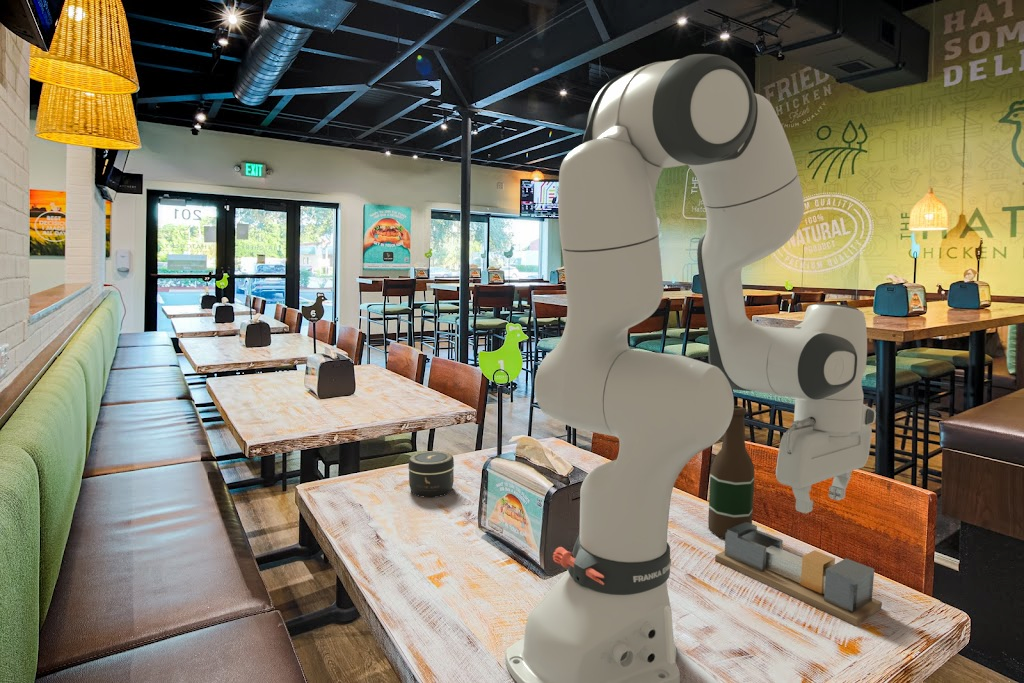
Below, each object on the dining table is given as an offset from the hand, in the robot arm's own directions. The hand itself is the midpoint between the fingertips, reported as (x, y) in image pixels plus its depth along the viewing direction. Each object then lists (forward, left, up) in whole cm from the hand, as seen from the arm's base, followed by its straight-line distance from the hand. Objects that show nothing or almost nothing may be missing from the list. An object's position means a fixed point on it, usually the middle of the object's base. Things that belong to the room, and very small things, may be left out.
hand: (820, 504), depth 90 cm
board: (0, +4, -14) cm, 15 cm away
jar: (-28, +72, -14) cm, 78 cm away
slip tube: (0, +1, -13) cm, 13 cm away
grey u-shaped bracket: (0, +11, -14) cm, 18 cm away
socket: (0, -5, -14) cm, 15 cm away
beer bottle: (+8, +21, -14) cm, 27 cm away
